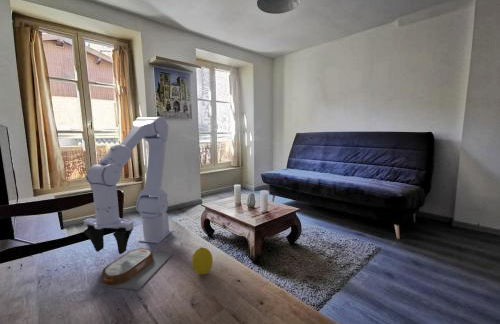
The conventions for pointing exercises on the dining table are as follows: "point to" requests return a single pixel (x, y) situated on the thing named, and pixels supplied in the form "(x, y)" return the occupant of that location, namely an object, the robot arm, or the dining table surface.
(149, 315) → the dining table surface
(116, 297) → the dining table surface
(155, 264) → the felt mat
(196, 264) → the lemon
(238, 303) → the dining table surface
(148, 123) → the robot arm
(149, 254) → the tin
